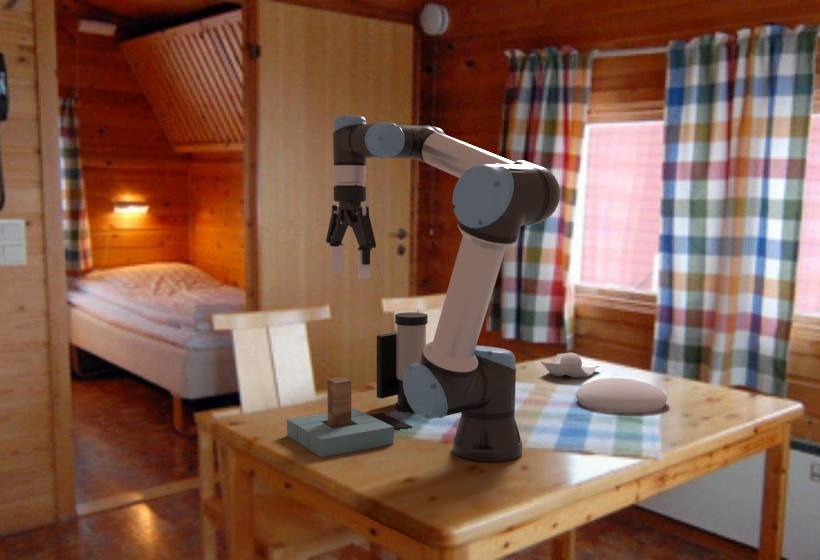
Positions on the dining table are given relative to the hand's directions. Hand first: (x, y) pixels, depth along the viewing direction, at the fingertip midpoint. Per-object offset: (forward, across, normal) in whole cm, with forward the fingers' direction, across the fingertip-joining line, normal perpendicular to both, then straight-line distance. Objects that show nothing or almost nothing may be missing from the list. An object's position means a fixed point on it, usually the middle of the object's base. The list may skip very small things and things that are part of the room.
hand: (350, 276), depth 196 cm
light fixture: (+37, +10, -22) cm, 44 cm away
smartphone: (+37, +1, -10) cm, 39 cm away
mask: (+37, +17, -85) cm, 94 cm away
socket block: (+37, -6, +6) cm, 38 cm away
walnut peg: (+37, -6, +6) cm, 38 cm away
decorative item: (+37, -16, -73) cm, 84 cm away
